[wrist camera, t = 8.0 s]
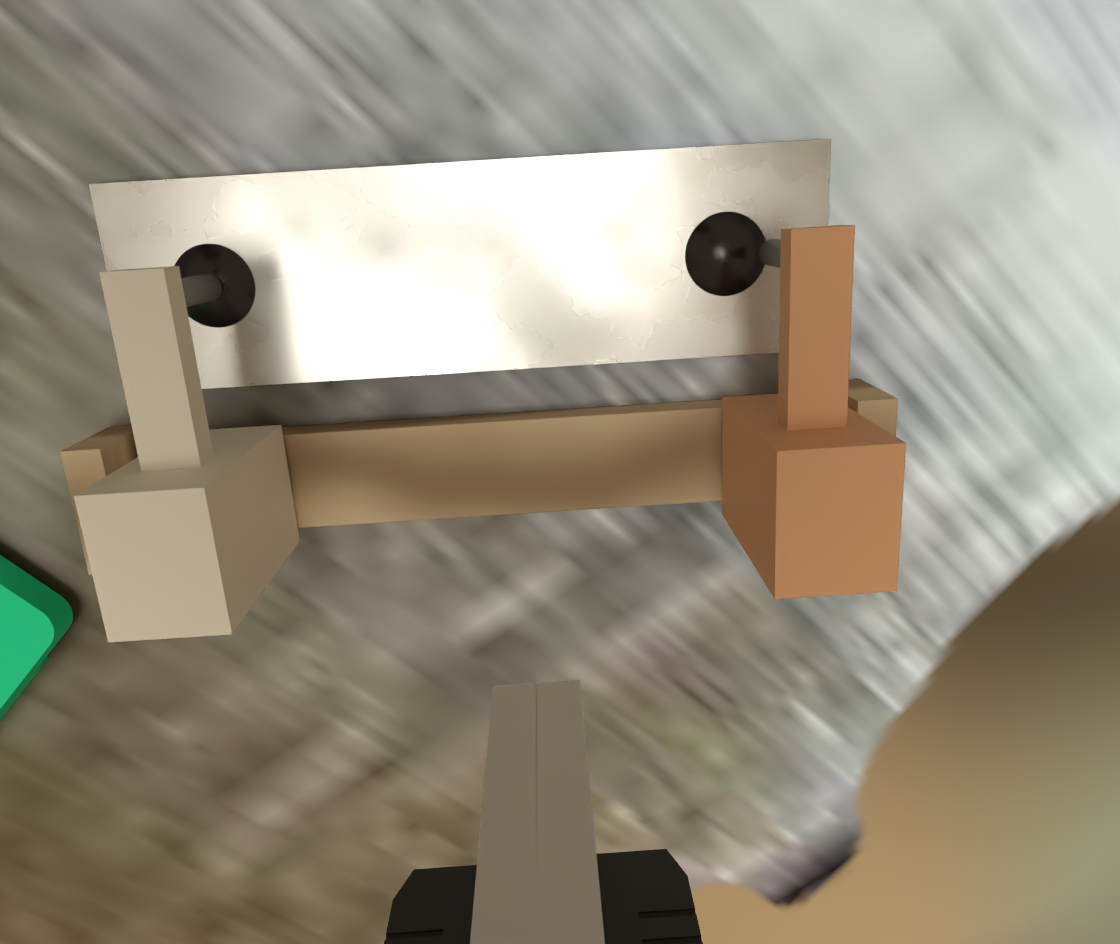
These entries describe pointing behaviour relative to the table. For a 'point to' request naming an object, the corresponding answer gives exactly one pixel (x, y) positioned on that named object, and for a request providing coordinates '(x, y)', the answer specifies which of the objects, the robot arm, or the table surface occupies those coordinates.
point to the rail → (489, 461)
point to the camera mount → (26, 629)
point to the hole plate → (475, 260)
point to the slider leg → (813, 441)
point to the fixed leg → (180, 481)
